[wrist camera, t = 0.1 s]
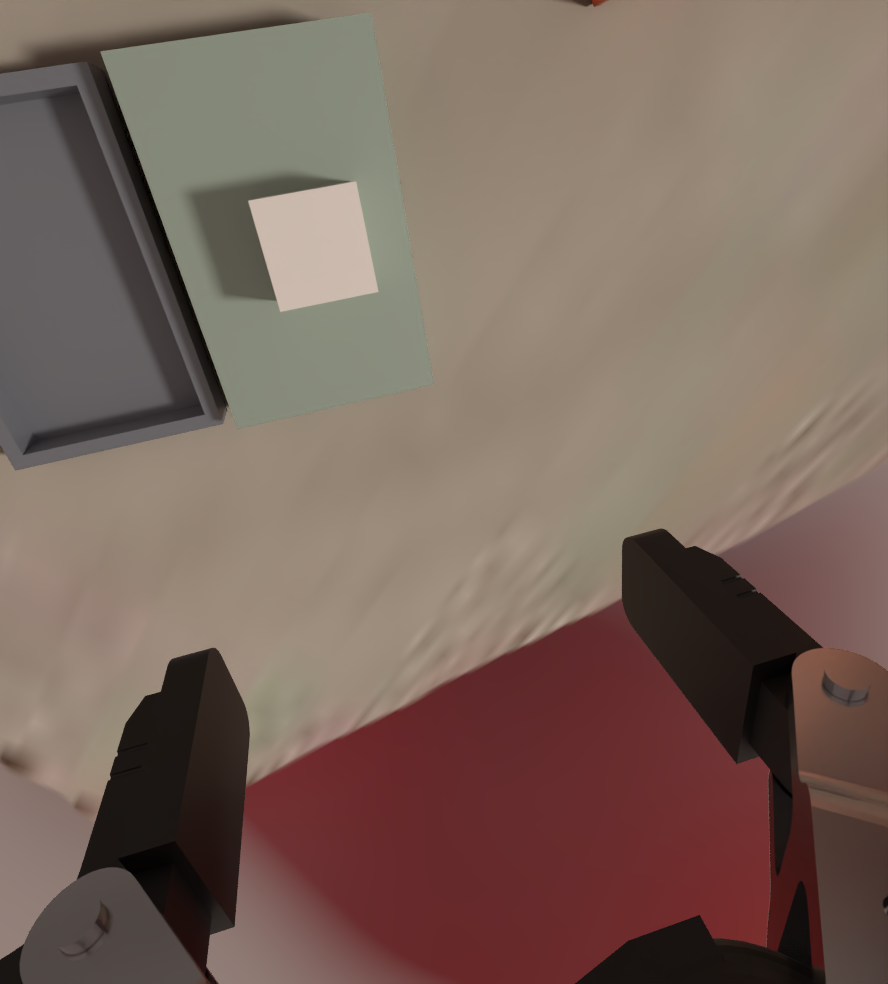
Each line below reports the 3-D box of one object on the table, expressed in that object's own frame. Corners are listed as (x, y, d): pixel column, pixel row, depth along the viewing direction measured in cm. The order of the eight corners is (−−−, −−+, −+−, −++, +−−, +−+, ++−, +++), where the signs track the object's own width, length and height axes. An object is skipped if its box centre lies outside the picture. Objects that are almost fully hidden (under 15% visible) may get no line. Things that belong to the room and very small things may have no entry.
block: (252, 198, 29) (248, 200, 26) (350, 181, 29) (356, 181, 27) (281, 301, 31) (280, 312, 29) (371, 283, 32) (378, 291, 29)
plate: (123, 67, 28) (100, 51, 25) (362, 31, 30) (371, 12, 26) (242, 406, 37) (237, 429, 34) (421, 366, 39) (434, 384, 35)
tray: (-165, 109, 27) (-205, 103, 25) (102, 70, 28) (87, 61, 26) (32, 453, 36) (15, 470, 34) (227, 409, 37) (223, 423, 35)
